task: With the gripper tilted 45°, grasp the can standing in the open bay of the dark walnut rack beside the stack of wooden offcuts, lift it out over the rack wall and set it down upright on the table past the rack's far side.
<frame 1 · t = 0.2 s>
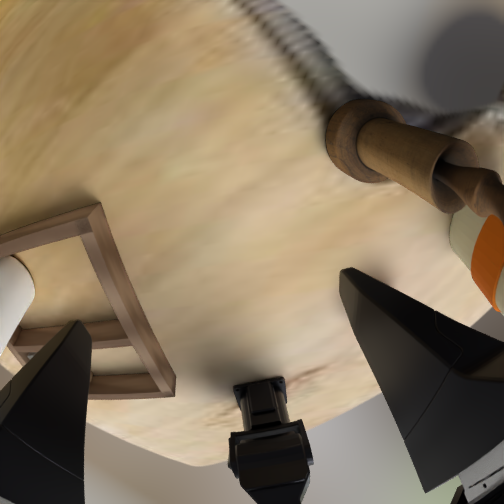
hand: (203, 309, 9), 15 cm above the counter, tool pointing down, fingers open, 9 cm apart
reusable coffee cup: (473, 221, 27), on the counter
wooden pepper mill: (361, 137, 21), on the counter
can: (14, 277, 23), resting in walnut rack
walnut rack: (66, 318, 26), on the counter
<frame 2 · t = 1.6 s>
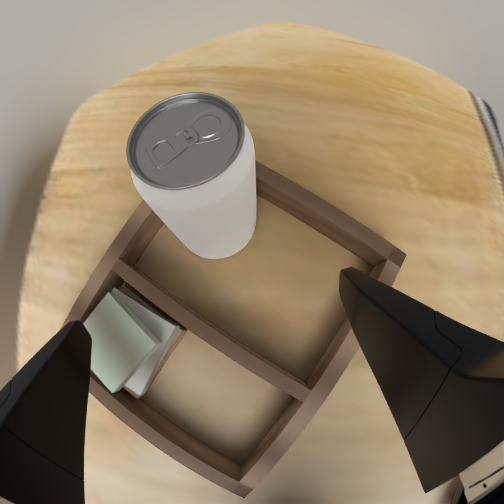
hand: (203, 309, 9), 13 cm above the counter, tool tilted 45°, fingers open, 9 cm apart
can: (217, 222, 24), resting in walnut rack
walnut rack: (220, 315, 22), on the counter
offcut stack: (135, 341, 22), resting in walnut rack
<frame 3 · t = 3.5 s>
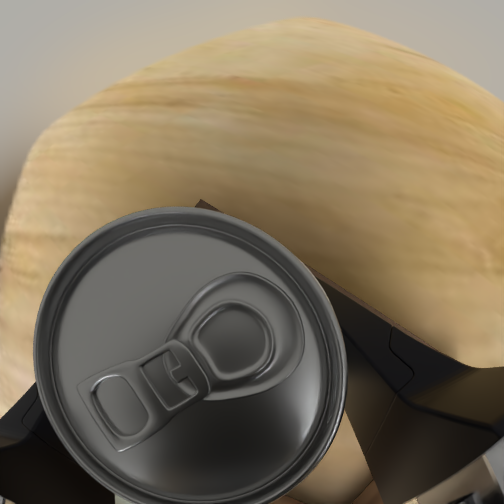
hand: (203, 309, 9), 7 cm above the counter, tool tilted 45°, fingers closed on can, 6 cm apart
can: (232, 340, 16), resting in walnut rack, touching gripper
walnut rack: (241, 460, 14), on the counter
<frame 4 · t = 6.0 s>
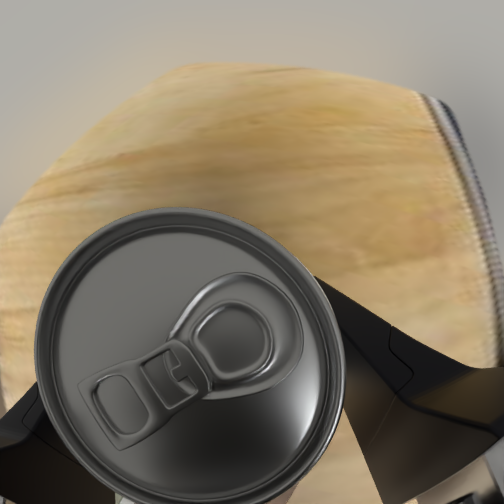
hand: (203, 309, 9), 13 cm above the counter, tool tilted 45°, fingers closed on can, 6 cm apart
can: (232, 339, 16), point 6 cm above the counter, touching gripper
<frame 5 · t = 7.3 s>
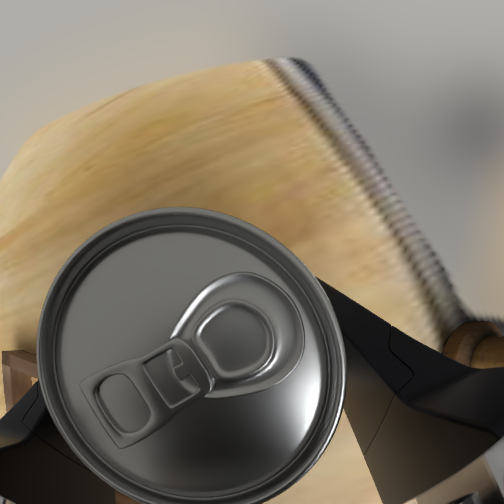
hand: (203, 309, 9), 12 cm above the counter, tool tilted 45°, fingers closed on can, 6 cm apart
wooden pepper mill: (465, 357, 19), on the counter
can: (232, 338, 16), point 5 cm above the counter, touching gripper
walnut rack: (108, 481, 17), on the counter
when the fingers open (8 cm above the counter, at t = 8.4 s): can drops 1 cm, on the counter.
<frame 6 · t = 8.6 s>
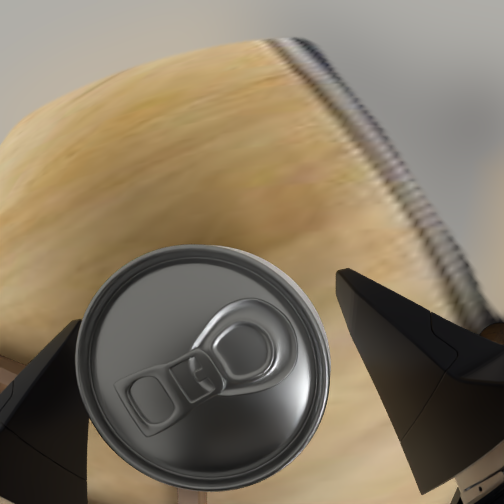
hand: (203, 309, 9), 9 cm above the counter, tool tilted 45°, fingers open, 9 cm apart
wooden pepper mill: (490, 363, 16), on the counter
can: (235, 342, 17), on the counter
walnut rack: (92, 501, 14), on the counter
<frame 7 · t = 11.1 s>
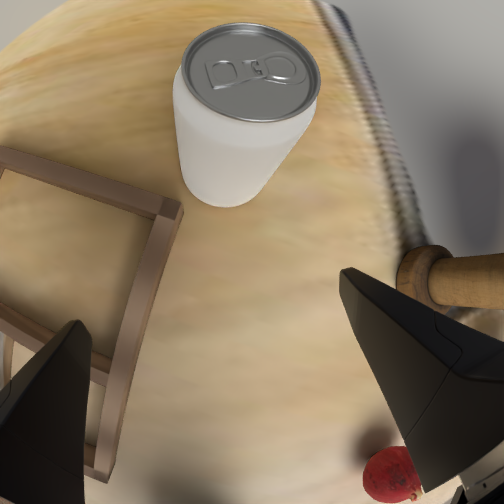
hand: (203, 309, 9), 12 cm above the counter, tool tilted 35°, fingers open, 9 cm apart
wooden pepper mill: (420, 281, 24), on the counter
red pomegranate: (372, 456, 22), on the counter
can: (224, 168, 22), on the counter
walnut rack: (32, 309, 18), on the counter
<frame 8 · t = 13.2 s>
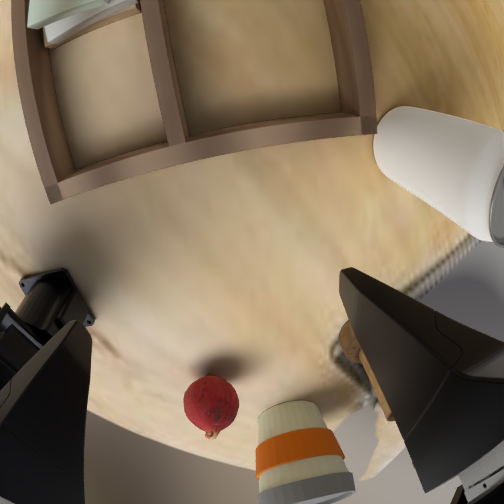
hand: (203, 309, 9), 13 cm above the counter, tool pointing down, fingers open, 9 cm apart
reusable coffee cup: (287, 414, 39), on the counter
wooden pepper mill: (364, 328, 31), on the counter
red pomegranate: (209, 374, 31), on the counter
can: (402, 143, 20), on the counter
walnut rack: (180, 20, 14), on the counter
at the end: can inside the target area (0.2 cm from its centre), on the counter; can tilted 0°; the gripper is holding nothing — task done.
